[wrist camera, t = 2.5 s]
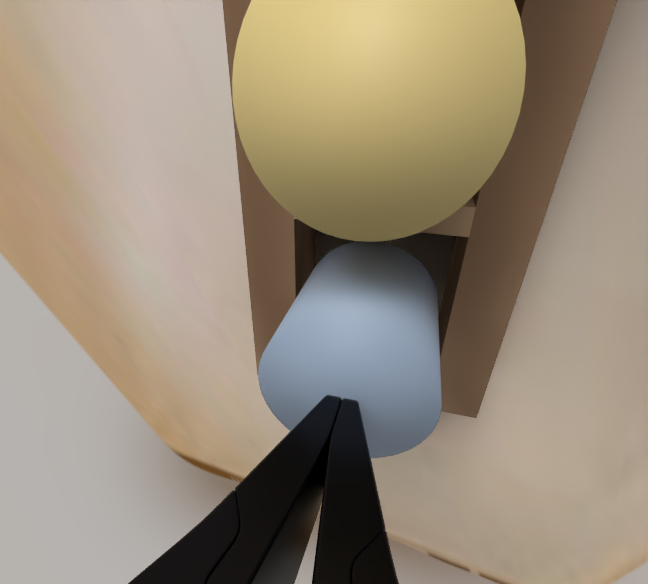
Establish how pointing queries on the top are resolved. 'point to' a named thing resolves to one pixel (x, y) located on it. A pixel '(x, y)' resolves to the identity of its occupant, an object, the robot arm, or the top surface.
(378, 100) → the button ochre
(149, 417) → the top surface
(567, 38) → the wooden compartment tray
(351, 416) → the robot arm
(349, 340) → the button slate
